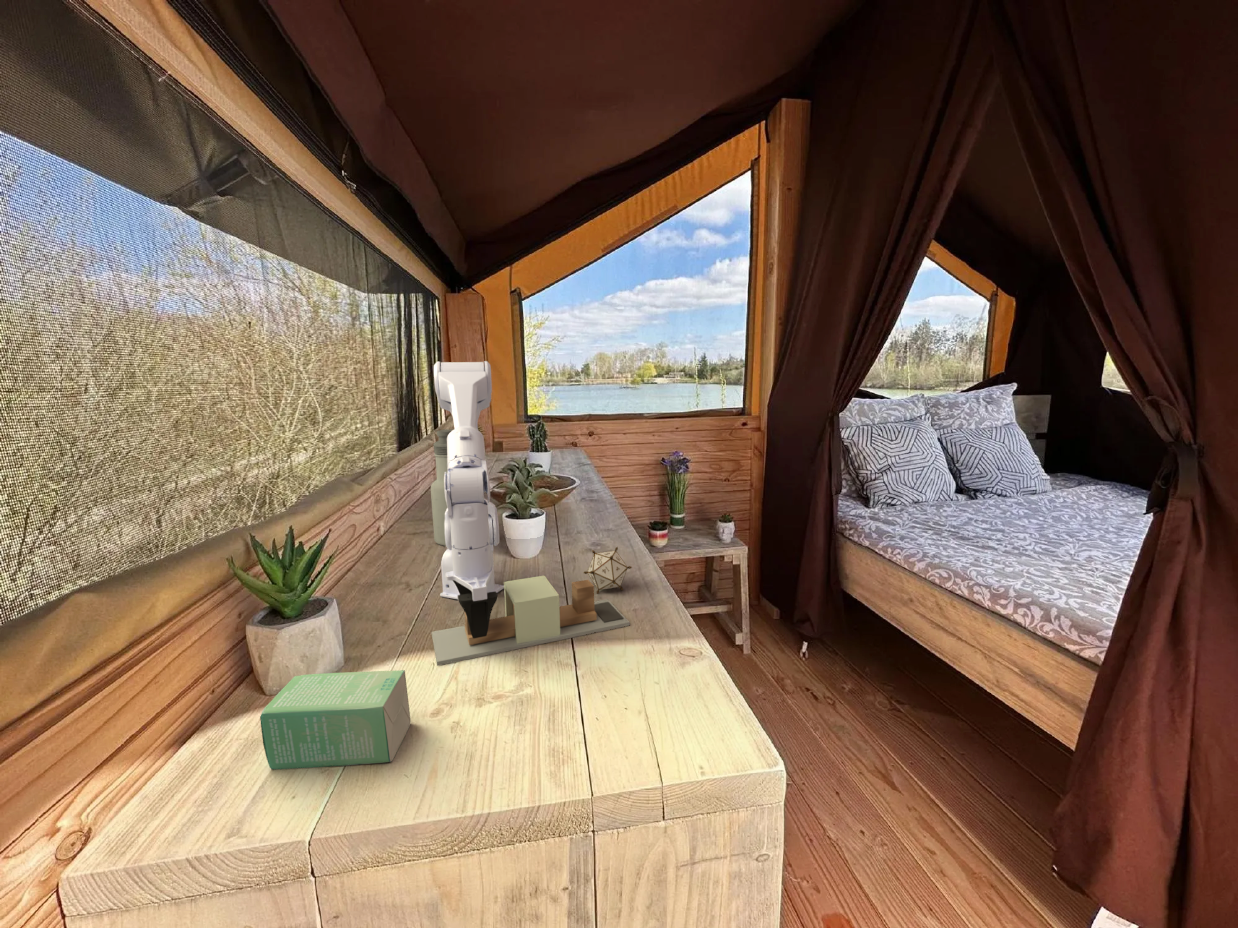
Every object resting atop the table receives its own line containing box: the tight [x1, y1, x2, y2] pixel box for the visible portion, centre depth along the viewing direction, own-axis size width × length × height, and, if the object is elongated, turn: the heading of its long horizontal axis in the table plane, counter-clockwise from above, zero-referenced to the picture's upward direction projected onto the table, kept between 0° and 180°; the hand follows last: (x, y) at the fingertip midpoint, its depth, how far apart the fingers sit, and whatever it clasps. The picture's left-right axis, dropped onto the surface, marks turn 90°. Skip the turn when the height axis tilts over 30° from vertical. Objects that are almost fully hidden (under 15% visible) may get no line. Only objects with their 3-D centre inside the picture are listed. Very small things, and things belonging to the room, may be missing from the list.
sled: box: [463, 579, 597, 645], centre depth 90 cm, size 21×5×6 cm, turn 113°
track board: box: [431, 599, 631, 666], centre depth 90 cm, size 31×10×1 cm, turn 113°
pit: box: [594, 602, 623, 623], centre depth 95 cm, size 4×7×1 cm, turn 23°
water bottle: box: [430, 428, 454, 547], centre depth 135 cm, size 10×10×28 cm
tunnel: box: [503, 575, 560, 644], centre depth 90 cm, size 7×9×7 cm
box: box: [259, 669, 411, 770], centre depth 63 cm, size 7×14×8 cm, turn 93°
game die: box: [583, 546, 633, 594], centre depth 106 cm, size 9×8×10 cm
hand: (475, 625), depth 86 cm, fingers open, 7 cm apart
